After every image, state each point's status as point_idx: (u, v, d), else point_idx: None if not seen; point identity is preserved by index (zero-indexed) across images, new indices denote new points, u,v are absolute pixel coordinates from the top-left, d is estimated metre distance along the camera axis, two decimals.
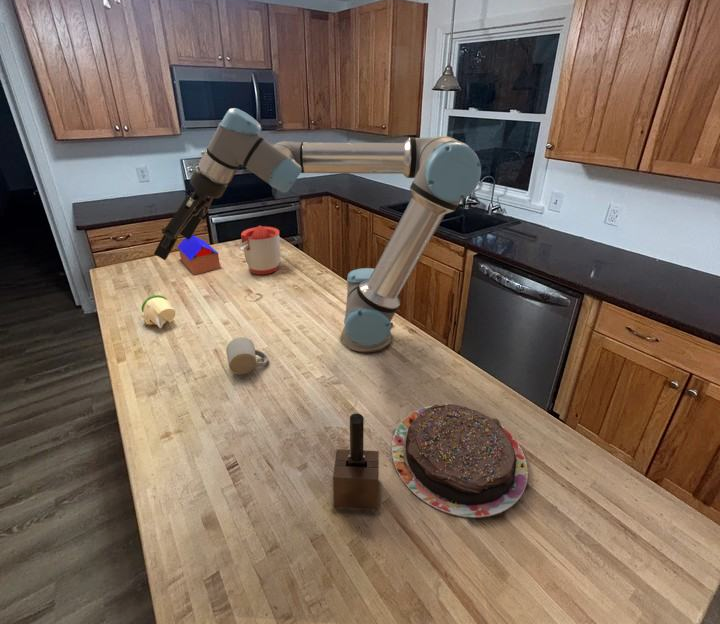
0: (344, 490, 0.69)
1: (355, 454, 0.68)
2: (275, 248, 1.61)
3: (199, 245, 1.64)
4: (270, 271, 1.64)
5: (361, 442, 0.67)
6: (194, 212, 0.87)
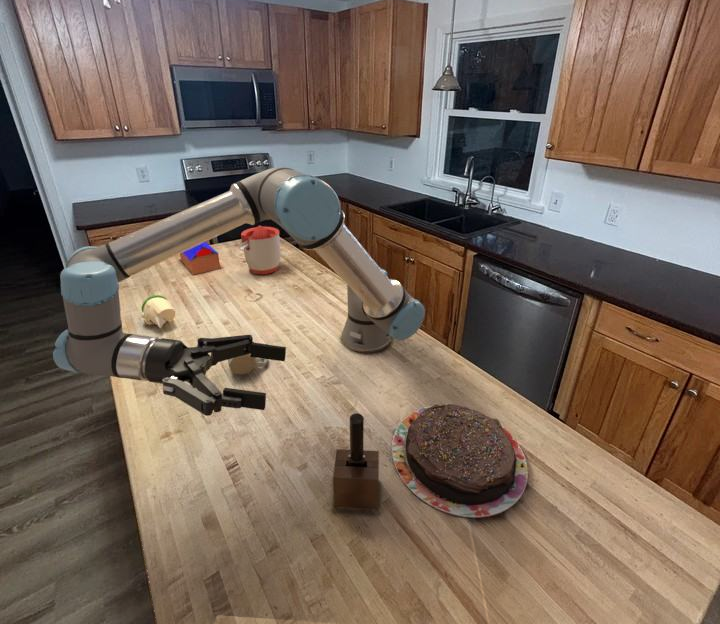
0: (344, 490, 0.69)
1: (355, 454, 0.68)
2: (275, 248, 1.61)
3: (199, 245, 1.64)
4: (270, 271, 1.64)
5: (361, 442, 0.67)
6: (193, 373, 0.63)
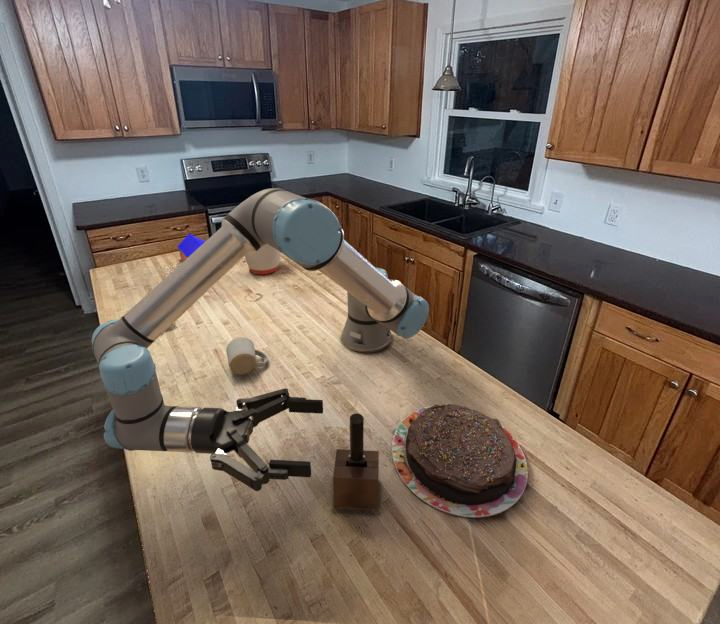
0: (344, 490, 0.69)
1: (355, 454, 0.68)
2: None
3: (199, 245, 1.64)
4: (270, 271, 1.64)
5: (361, 442, 0.67)
6: (237, 445, 0.65)
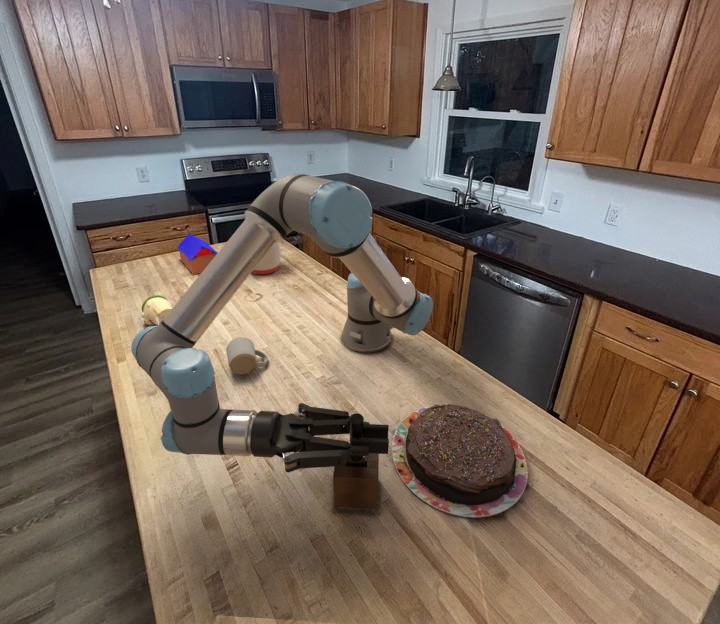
0: (344, 490, 0.69)
1: None
2: (275, 248, 1.61)
3: (199, 245, 1.64)
4: (270, 271, 1.64)
5: None
6: (306, 441, 0.66)
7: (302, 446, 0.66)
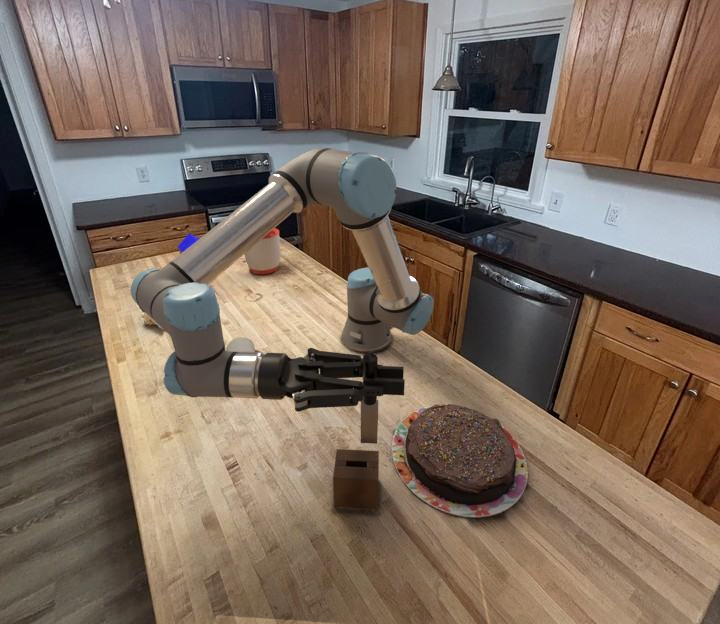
0: (344, 490, 0.69)
1: (368, 397, 0.64)
2: (275, 248, 1.61)
3: None
4: (270, 271, 1.64)
5: None
6: (317, 381, 0.62)
7: (312, 387, 0.62)
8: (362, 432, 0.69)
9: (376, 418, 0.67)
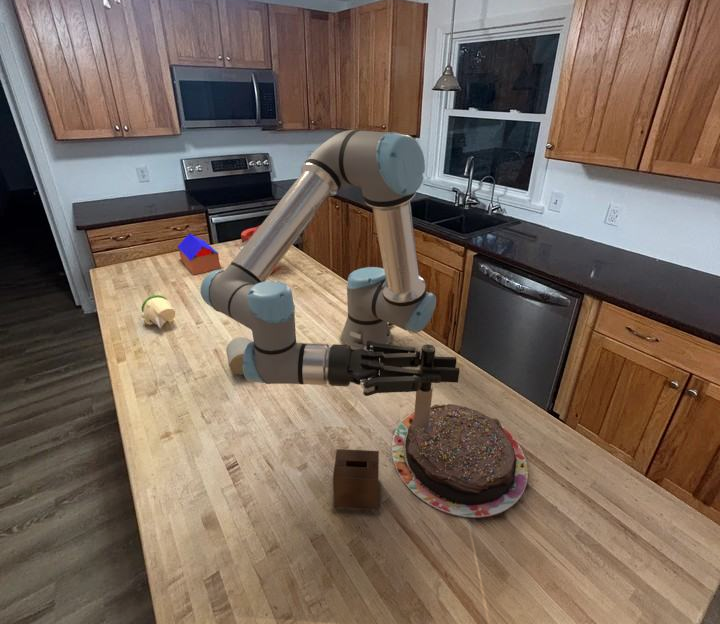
0: (344, 490, 0.69)
1: (425, 384, 0.71)
2: None
3: (199, 245, 1.64)
4: None
5: None
6: (381, 369, 0.69)
7: (376, 375, 0.70)
8: (415, 417, 0.76)
9: (429, 404, 0.75)
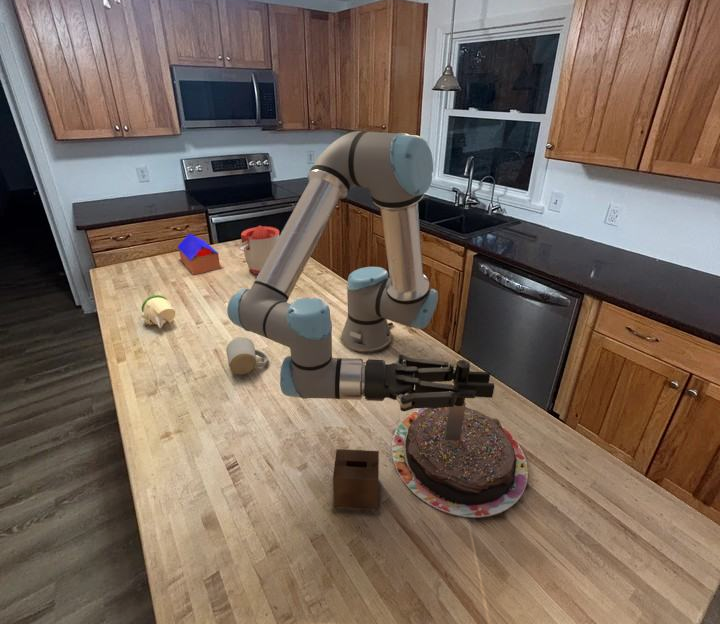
0: (344, 490, 0.69)
1: (458, 399, 0.72)
2: None
3: (199, 245, 1.64)
4: None
5: None
6: (416, 384, 0.70)
7: (412, 390, 0.71)
8: (448, 430, 0.77)
9: (462, 418, 0.76)
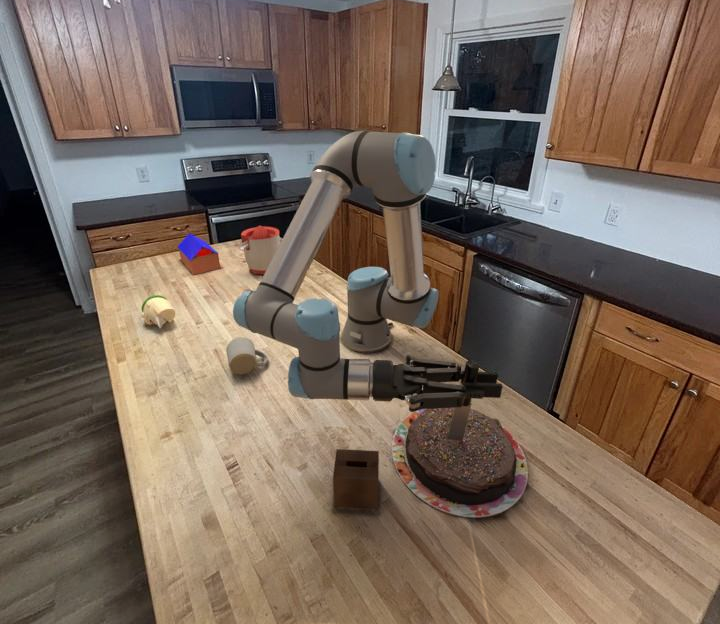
0: (344, 490, 0.69)
1: (465, 399, 0.72)
2: (275, 248, 1.61)
3: (199, 245, 1.64)
4: None
5: None
6: (424, 385, 0.70)
7: (420, 390, 0.71)
8: (451, 430, 0.77)
9: (466, 418, 0.76)
